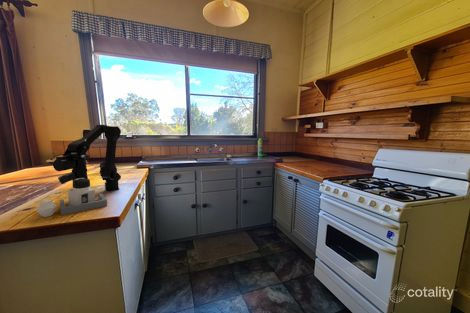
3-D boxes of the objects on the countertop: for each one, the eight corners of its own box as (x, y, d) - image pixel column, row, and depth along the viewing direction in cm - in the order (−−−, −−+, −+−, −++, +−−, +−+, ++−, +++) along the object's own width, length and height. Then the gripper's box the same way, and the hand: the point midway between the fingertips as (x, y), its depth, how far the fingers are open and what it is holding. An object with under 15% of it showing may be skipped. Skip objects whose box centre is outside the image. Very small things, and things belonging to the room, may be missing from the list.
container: (95, 203, 98) (94, 179, 96) (77, 209, 91) (77, 182, 89) (85, 199, 101) (85, 175, 98) (68, 205, 94) (67, 179, 91)
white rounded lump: (60, 212, 87) (59, 197, 86) (48, 218, 81) (46, 202, 80) (46, 212, 87) (44, 197, 86) (33, 218, 81) (30, 202, 80)
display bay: (102, 198, 105) (101, 193, 105) (107, 205, 96) (106, 199, 95) (60, 206, 94) (59, 200, 94) (61, 215, 84) (60, 208, 84)
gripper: (58, 165, 101) (61, 194, 103) (58, 172, 87) (61, 205, 89) (85, 163, 108) (87, 190, 111) (89, 169, 95) (91, 200, 97)
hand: (82, 196), depth 102 cm, fingers closed, pressing on container
